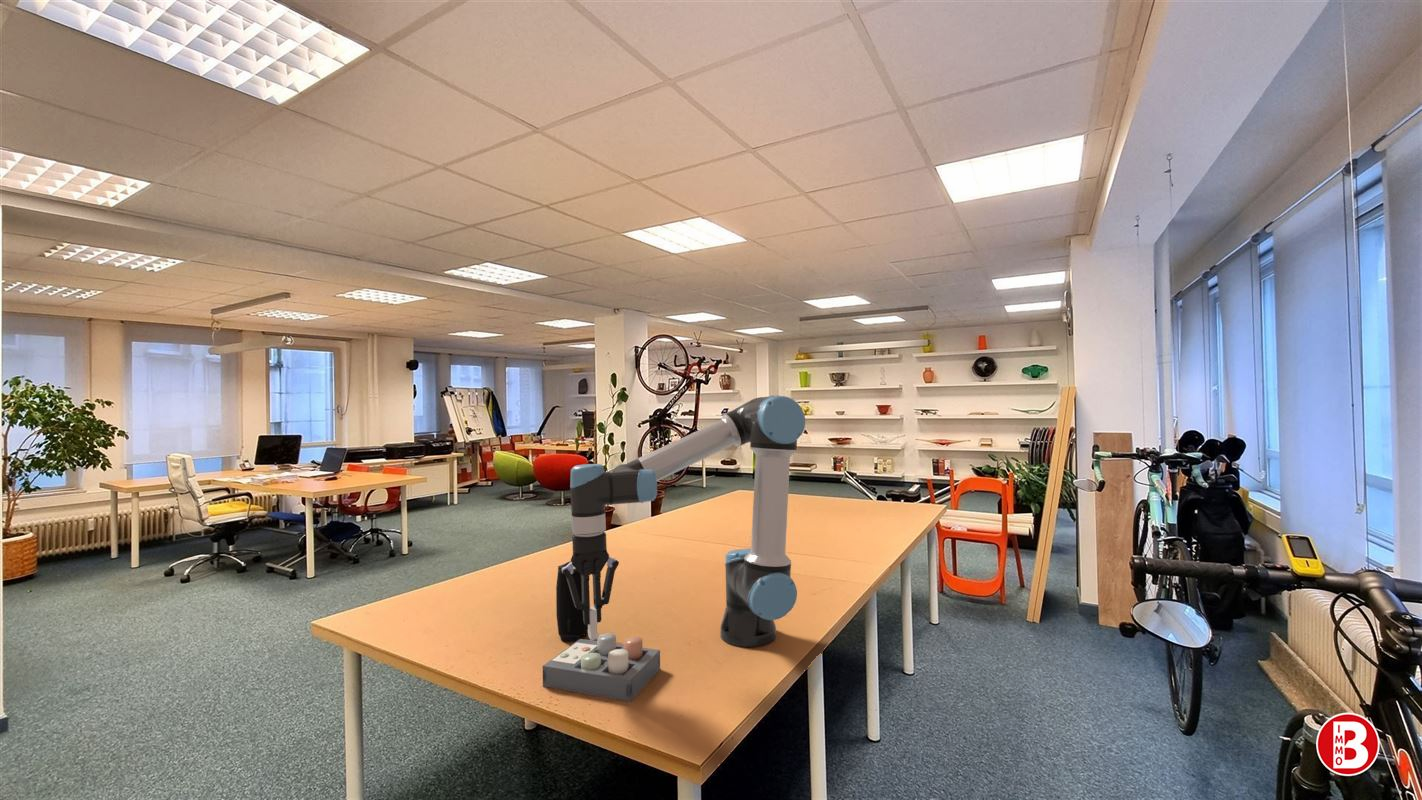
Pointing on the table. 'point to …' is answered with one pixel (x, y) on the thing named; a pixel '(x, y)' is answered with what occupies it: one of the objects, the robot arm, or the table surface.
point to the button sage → (591, 661)
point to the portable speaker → (569, 608)
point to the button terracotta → (634, 648)
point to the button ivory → (618, 662)
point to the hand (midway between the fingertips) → (592, 637)
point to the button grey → (606, 643)
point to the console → (599, 672)
